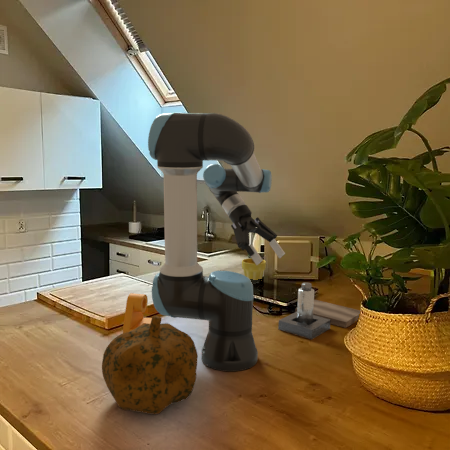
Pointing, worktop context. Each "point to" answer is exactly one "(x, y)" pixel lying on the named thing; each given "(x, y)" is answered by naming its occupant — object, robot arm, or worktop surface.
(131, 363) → the decorative pumpkin
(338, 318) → the board
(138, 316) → the bracket
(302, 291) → the clear bottle
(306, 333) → the socket block
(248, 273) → the plant pot
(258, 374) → the worktop surface
